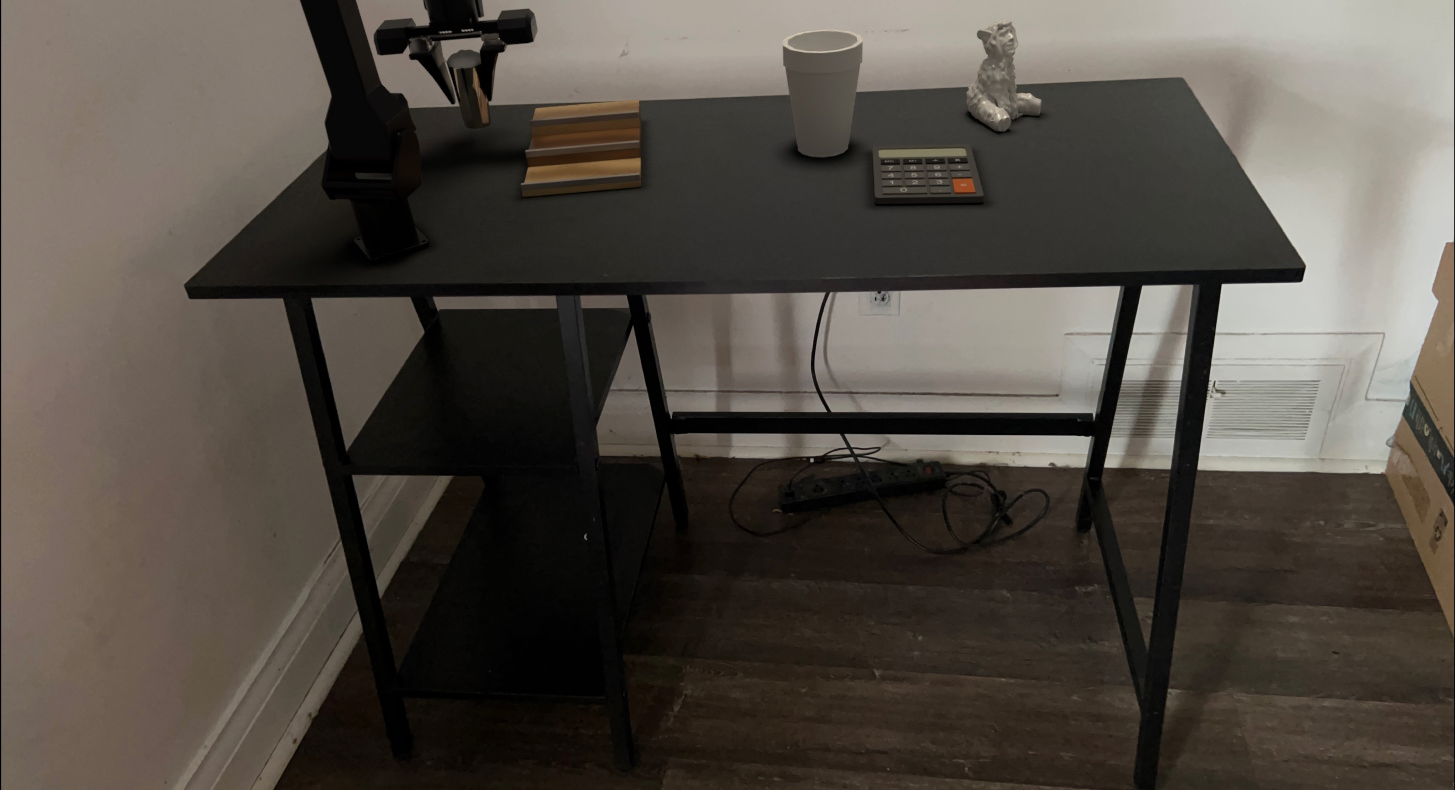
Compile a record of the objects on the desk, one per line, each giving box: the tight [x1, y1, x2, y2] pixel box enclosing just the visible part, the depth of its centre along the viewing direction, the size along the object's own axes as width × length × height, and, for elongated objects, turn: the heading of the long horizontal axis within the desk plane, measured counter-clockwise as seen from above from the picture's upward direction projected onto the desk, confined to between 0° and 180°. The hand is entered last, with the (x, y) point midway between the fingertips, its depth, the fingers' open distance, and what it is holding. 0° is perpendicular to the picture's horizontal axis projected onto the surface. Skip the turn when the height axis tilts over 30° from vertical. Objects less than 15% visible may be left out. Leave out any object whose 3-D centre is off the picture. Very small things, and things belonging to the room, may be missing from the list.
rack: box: [520, 99, 643, 198], centre depth 120 cm, size 22×14×4 cm, turn 4°
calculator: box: [872, 143, 985, 205], centre depth 110 cm, size 12×1×15 cm
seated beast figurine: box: [965, 18, 1043, 133], centre depth 121 cm, size 10×9×12 cm
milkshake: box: [436, 47, 492, 130], centre depth 119 cm, size 4×5×10 cm
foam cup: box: [782, 29, 864, 158], centre depth 116 cm, size 10×9×13 cm
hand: (472, 102), depth 120 cm, fingers closed on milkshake, 4 cm apart
